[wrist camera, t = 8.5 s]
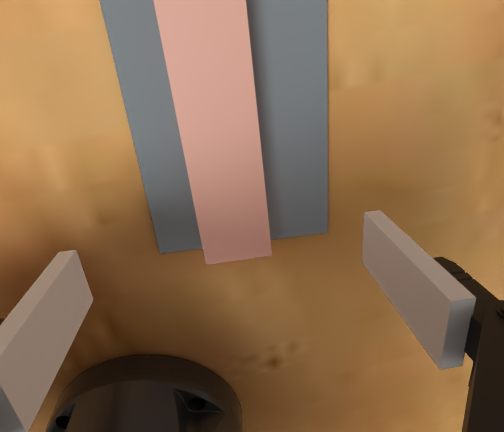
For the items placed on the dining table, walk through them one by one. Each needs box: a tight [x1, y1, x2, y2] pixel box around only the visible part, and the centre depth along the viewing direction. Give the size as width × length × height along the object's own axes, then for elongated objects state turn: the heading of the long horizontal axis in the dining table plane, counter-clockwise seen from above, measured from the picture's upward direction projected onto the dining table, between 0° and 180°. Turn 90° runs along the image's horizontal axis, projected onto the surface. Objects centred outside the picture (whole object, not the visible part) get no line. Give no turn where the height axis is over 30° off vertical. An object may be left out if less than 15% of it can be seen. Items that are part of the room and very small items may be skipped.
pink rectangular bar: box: [153, 0, 272, 265], centre depth 18 cm, size 18×4×2 cm, turn 6°
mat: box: [100, 0, 328, 254], centre depth 20 cm, size 15×11×1 cm
